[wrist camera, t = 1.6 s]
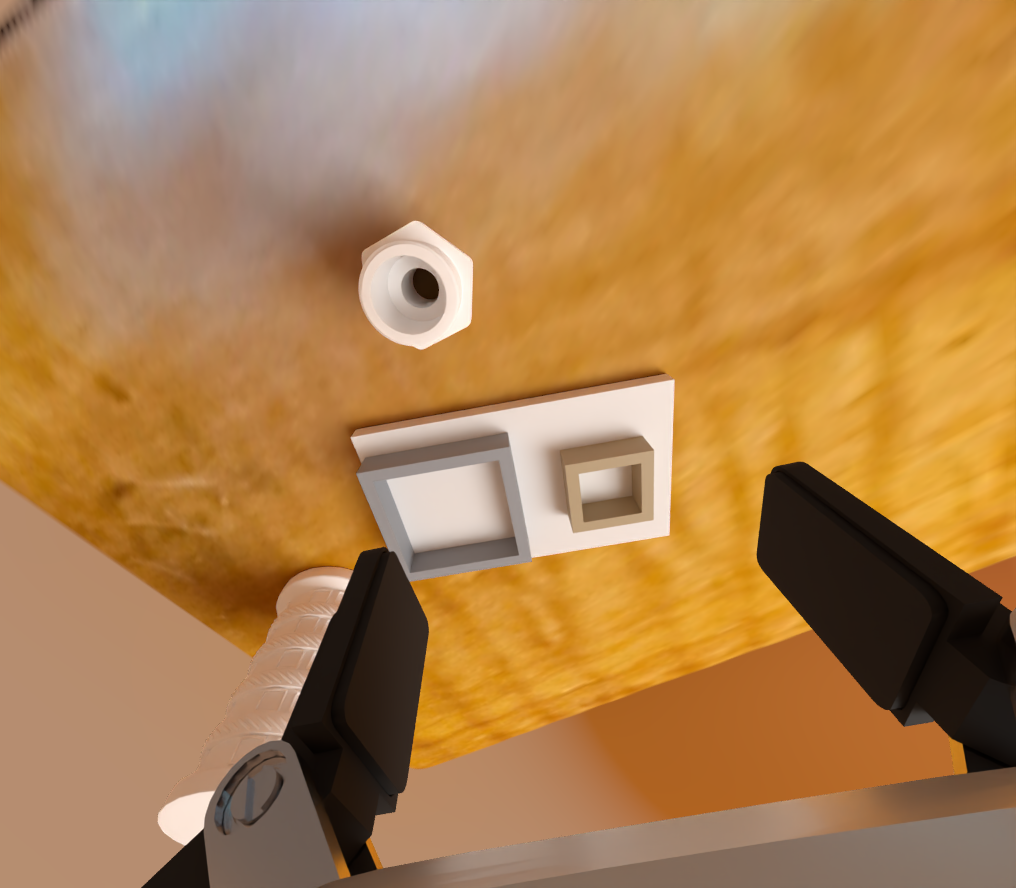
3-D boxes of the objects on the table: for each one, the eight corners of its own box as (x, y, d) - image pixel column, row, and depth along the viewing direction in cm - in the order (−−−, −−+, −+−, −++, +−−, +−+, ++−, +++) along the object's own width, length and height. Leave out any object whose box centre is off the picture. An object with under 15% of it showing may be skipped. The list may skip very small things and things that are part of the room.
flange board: (356, 429, 32) (340, 452, 29) (666, 373, 31) (689, 390, 28) (411, 566, 40) (403, 598, 36) (663, 525, 39) (680, 553, 35)
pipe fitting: (494, 300, 28) (496, 321, 21) (410, 345, 29) (386, 378, 22) (450, 209, 25) (436, 197, 18) (360, 262, 27) (313, 270, 19)
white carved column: (331, 651, 46) (247, 872, 30) (257, 593, 41) (109, 820, 25) (413, 616, 43) (369, 834, 28) (345, 550, 38) (245, 768, 23)
